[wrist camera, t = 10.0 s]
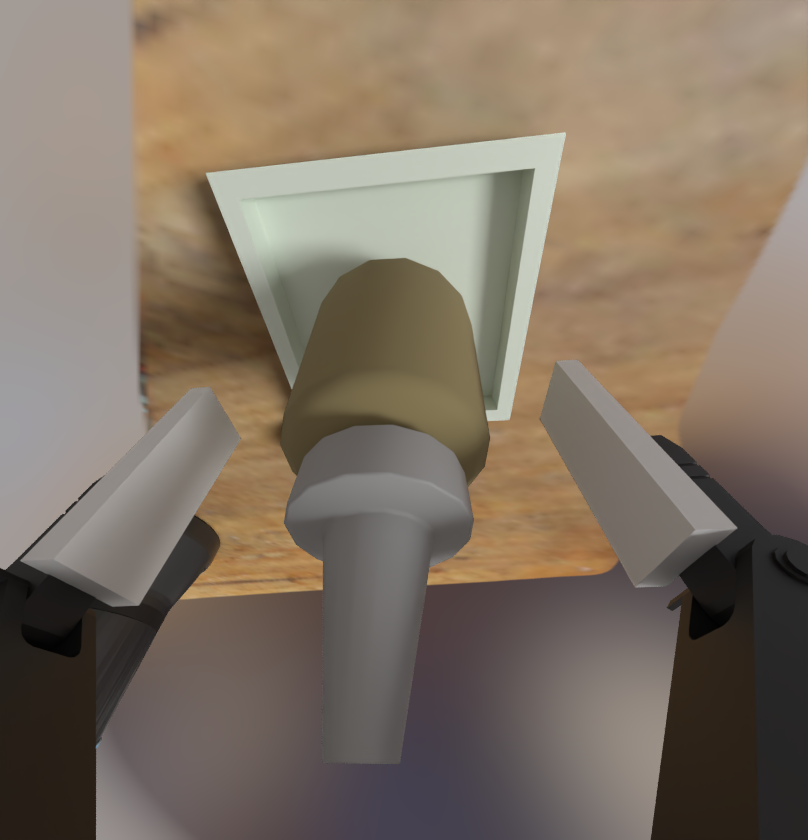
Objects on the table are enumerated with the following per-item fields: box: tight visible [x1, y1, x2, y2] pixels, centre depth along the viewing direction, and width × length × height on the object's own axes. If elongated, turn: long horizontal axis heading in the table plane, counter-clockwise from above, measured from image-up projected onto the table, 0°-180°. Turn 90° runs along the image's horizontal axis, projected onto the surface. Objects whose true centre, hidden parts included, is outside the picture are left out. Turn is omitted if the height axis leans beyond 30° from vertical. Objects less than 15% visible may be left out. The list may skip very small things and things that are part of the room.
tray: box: [206, 132, 566, 421], centre depth 18 cm, size 15×15×2 cm
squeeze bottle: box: [280, 258, 490, 764], centre depth 11 cm, size 8×8×18 cm
